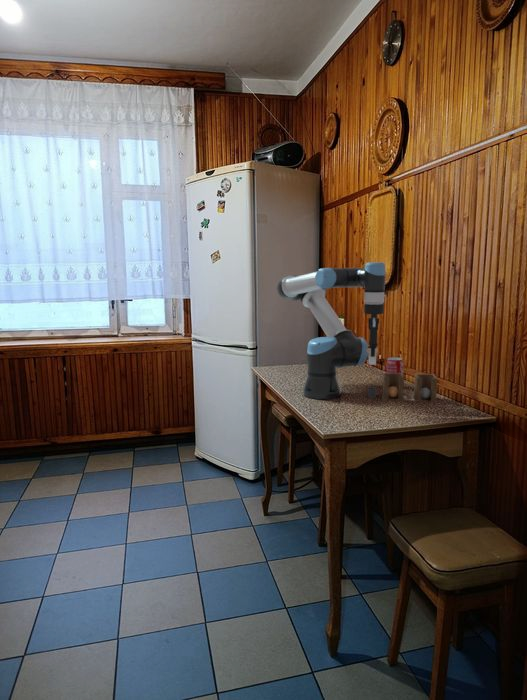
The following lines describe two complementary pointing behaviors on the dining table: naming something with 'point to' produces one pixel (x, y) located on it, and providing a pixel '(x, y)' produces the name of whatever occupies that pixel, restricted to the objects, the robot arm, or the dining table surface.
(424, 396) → the grey ball
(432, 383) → the rack
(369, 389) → the rubber stand
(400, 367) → the soda can
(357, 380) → the dining table surface
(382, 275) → the robot arm
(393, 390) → the brown ball in tube
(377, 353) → the brown ball
